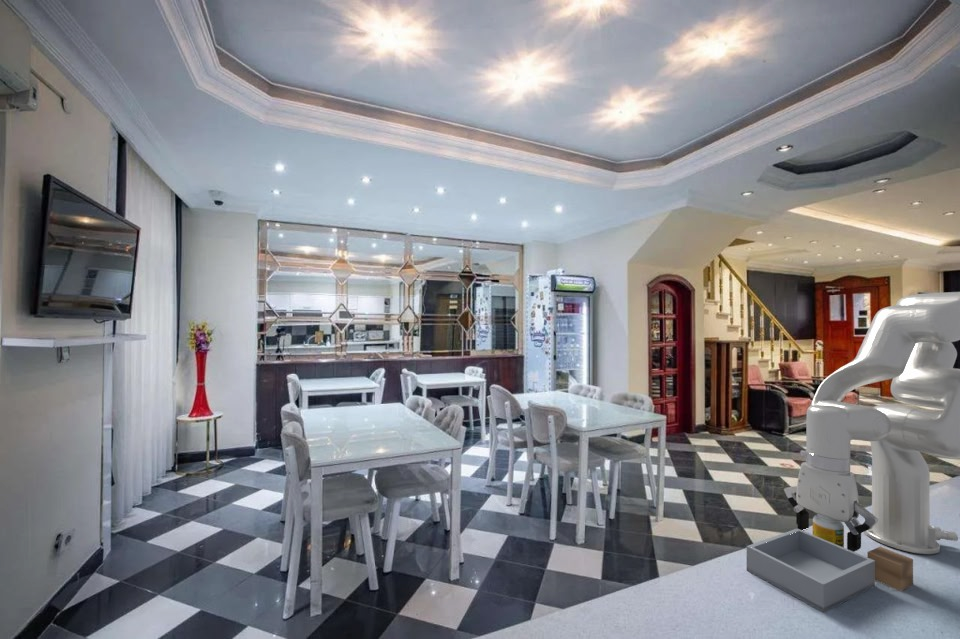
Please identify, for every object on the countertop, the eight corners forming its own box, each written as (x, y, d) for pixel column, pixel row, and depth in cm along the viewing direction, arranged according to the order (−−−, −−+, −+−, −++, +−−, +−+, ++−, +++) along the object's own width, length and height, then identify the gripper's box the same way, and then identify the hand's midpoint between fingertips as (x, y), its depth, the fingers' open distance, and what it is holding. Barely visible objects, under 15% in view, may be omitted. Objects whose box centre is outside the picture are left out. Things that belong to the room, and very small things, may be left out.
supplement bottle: (817, 543, 96) (817, 502, 96) (847, 554, 91) (847, 511, 91) (808, 551, 93) (808, 508, 93) (839, 562, 88) (839, 517, 88)
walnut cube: (880, 570, 86) (880, 546, 86) (913, 584, 81) (913, 559, 81) (867, 576, 84) (867, 552, 84) (900, 591, 79) (900, 565, 79)
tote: (797, 550, 93) (797, 528, 93) (874, 586, 80) (874, 560, 80) (746, 570, 86) (746, 546, 86) (823, 612, 73) (823, 584, 73)
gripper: (775, 452, 98) (775, 525, 98) (868, 478, 82) (867, 564, 82) (794, 448, 101) (793, 519, 101) (887, 473, 86) (886, 556, 85)
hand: (826, 539), depth 92 cm, fingers open, 9 cm apart
